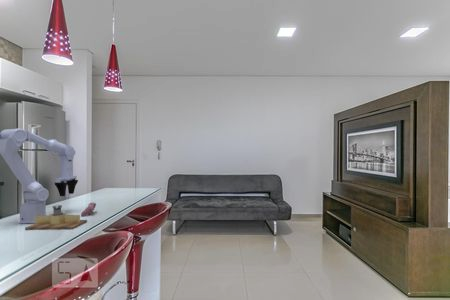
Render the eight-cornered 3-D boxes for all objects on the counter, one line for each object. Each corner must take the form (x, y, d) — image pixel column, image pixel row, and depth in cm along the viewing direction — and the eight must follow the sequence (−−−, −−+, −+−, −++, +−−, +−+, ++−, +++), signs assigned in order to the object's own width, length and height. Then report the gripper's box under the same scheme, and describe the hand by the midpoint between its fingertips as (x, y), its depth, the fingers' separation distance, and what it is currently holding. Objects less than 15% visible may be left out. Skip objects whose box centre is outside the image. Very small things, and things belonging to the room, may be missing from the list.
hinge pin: (51, 224, 113) (50, 207, 113) (56, 222, 117) (55, 205, 117) (58, 224, 113) (58, 206, 113) (63, 222, 117) (63, 205, 117)
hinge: (30, 225, 112) (30, 216, 112) (41, 221, 118) (40, 212, 118) (75, 225, 112) (75, 215, 112) (83, 221, 118) (83, 212, 118)
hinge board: (25, 229, 110) (25, 227, 110) (43, 222, 121) (43, 220, 121) (73, 229, 110) (73, 226, 110) (87, 222, 121) (87, 219, 121)
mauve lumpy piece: (88, 219, 132) (95, 206, 133) (79, 215, 131) (86, 202, 132) (92, 214, 141) (98, 202, 142) (84, 211, 140) (90, 199, 141)
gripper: (65, 169, 130) (66, 197, 130) (81, 167, 145) (82, 192, 144) (51, 169, 130) (51, 197, 130) (69, 167, 145) (69, 192, 144)
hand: (66, 194), depth 137 cm, fingers open, 7 cm apart
